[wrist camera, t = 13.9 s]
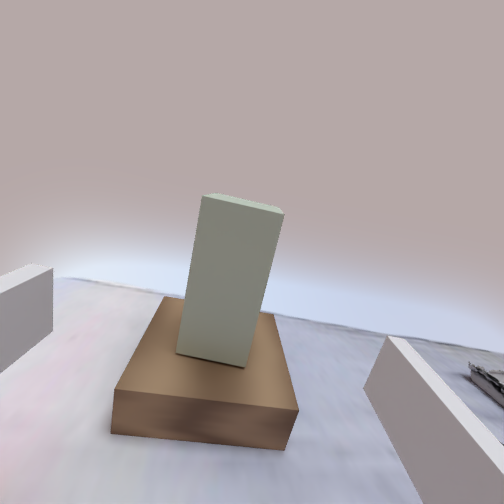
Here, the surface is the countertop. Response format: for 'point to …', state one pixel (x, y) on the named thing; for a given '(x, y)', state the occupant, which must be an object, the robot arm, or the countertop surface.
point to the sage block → (227, 277)
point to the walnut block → (205, 389)
